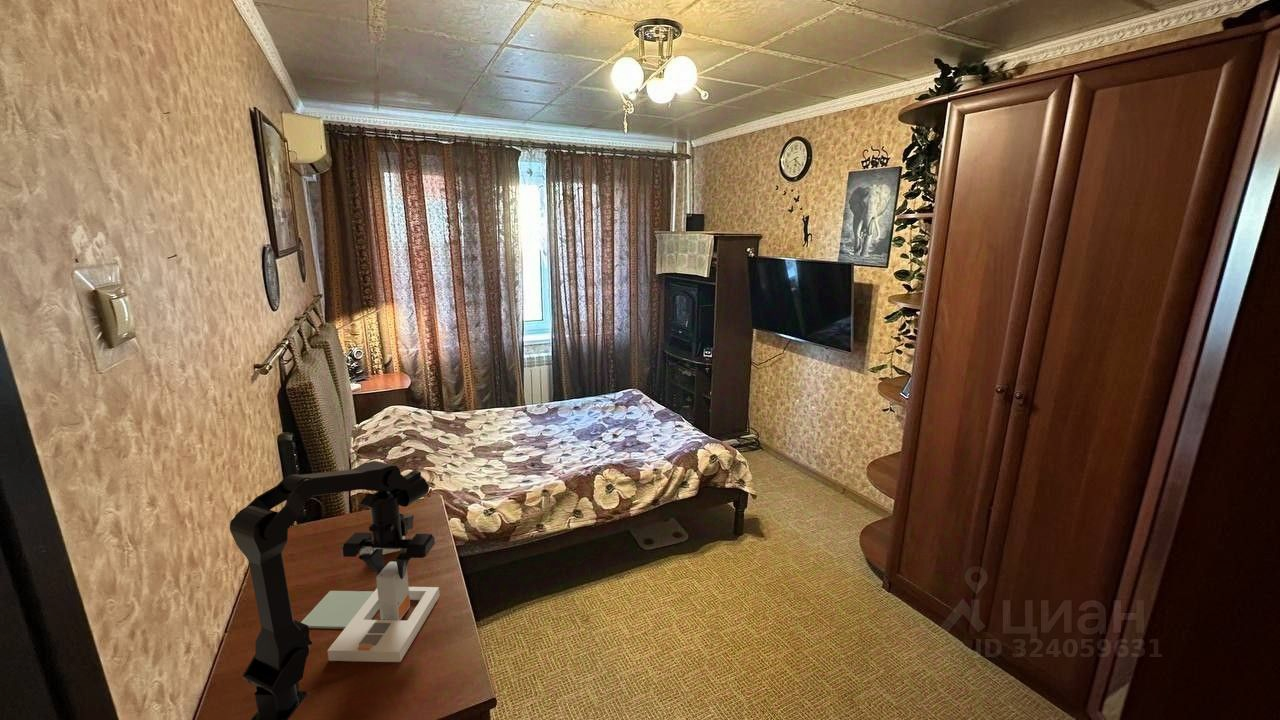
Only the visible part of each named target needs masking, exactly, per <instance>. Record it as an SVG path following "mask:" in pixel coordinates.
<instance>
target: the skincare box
mask: <svg viewBox="0 0 1280 720" xmlns="http://www.w3.org/2000/svg"><path fill="white" fill-rule="evenodd" d="M375 578H376V588H377V590H378V599H379V617H380V620H402V618H403V616H405V614H406V613H407V611H408V610H409V609H410V607H411V600H410V597H409V587H410V586H409V577H408V568H407V569H406V573H405V576H404V578H403V579H401V578H400V576H399V572H398V567H397V562H396V561H389V562H388V563H387V564H386V565H385V566H384V568H383V569H382V571H381V572H380V573H379V574H378V575H377V576H375Z"/></svg>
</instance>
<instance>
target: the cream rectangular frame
mask: <svg viewBox="0 0 1280 720" xmlns="http://www.w3.org/2000/svg"><path fill="white" fill-rule="evenodd" d="M439 596H440V587H439V586H438V587H437V586H409V597H410V601H411V600H413V601H418V604H416V606H415V608H414V609H413V611H412V613H411V614H410V615H409V617H408V619H407V620H404V619H403V620H402V619H401V620H381V619H373V618H374V617H375V615H376V614H377V612H378V611H380V609H379V599H378V590H377V587H376V588H375V590H374V592H373V593H372V595H371V596H370V597H369V599H368V600H367V601H366V602H365V604H364V605H363V606H362V607H361V609H360V610H359V611H358V612H357V614H356V615H355V616H354V617H353V619H352V620H351V621H350V623H349V624H348V625H347V626H346V628H345V629H342V631H341V633H340V634H339V635H338V636H337V638H336V639H335V640H334V641H333V643H332V644H331V645H330V646H329V648H328V649H327V658H328V661H330V662H372V663H373V662H376V663H378V662H379V663H381V662H382V663H401V662H402V660H403V658H404V657H405V655H406V654H407V652H408V650H409V648H410V647H411V645H412V643H413V642H414V641H415V639H416V637H417V635H418V633H419V632H420V631H421V629H422V627H423V625H424V623H425V622H426V620H427V618H428V616H429V615H430V614H431V611H432V610H433V608H434V606H435V605H436V603H437V602H438V601H439V598H440V597H439Z"/></svg>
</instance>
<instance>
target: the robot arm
mask: <svg viewBox="0 0 1280 720" xmlns="http://www.w3.org/2000/svg"><path fill="white" fill-rule="evenodd" d="M358 490H360V491H373V493H370V492H367V493H366V494H365V496H364V497H363V498H362V499H361V500H360V502H359V505H360V506H364V507H367V508H370V518H371V524H370V525H369V526H368V530H369V531H368V532H354V533H353V534H352V535H351V536H350V537H349V538H348V539H347V540H346V541H344V543H343V544H342V546H341V555H342V556H343V557H345V558H348V557H350V558H351V557H352V558H353V557H355V558H356V556H357V555H359V553H360V555H359V556H358V560H360V561H363V562H365V564H366V565H368V566H369V567H370V569H372V570H373V572H375V574H377V576H378V574H379V573H380V572H381V571H382V569H383V568H384V567H385V562H384V554H383V555H382V553H383V549H400V551H399V552H400V553H399V554H398V556H397V557H396V558H395V562H397V567H398V572H399V576H400V578H401V579H403V578H404V576H405V573H406V569H407V570H408V566H409V562H410V560H411V559H423V558H426V557H427V555H428V554H429V553H430V551H431V550H432V549H433V547H434V545H435V544H436V542H435V537H434V535H433V533H415V535H414V536H413V537H408V538H405V539H403V538H402V537H403V536H404V537H406V536H407V535H408V533H409V532H408V531H409V530H413V529H414V518H415V516H414V514H404V513H401V512H400V507H404V508H405V507H408V506H410V505H412V504H414V503H415V502H417V501H418V500H420V499H423V498H424V497H425V496H427V495H428V493H429V491H430V486H429V484H428V482H427V480H426V479H425V478H424V477H423V476H422V473H421V471H420V470H415V469H414V470H412V471H409V473H407V474H405V475H402V473H401V469H400V468H399V466H398V465H396V464H391V463H387V462H382V461H378V460H372V461H367V462H365V463H361V464H360V465H358V466H356V467H355V468H351V469H345V470H344V469H343V470H335V471H326V472H316V473H306V474H304V473H303V474H297V473H295V474H290V475H287V476H286V477H284V478H282V480H281V481H280V482H279V483H278V484H277V485H275V486H273V487H272V488H270V489H268V490H266V491H264V492H263V493H261V494H260V495H257V496H256V497H255V498H254V499H253V500H251V502H249V504H247V506H245V507H244V508H242V509H240V510H239V511H238V512H237V513H236V514H235V515H234V517H232V518H233V519H231V520H230V522H229V530H230V531H229V532H230V534H231V536H232V538H233V540H234V542H235V545H236V546H237V548H238V549H239V550H240V551H241V552H242V554H243V555H244V556H245V558H246V560H247V561H248V565H249V570H250V576H251V581H252V586H253V591H254V596H255V601H256V606H257V611H258V616H259V622H260V631H259V633H258V635H257V638H256V640H255V654H254V655H253V656H252V659H251V661H250V663H249V664H248V666H247V667H246V670H245V671H244V673H243V675H242V678H243V679H244V680H245V681H246V682H247V683H249V684H252V685H254V686H256V691H255V693H254V699H255V703H256V709H257V712H255V714H254V715H253V716H252V718H251V719H250V720H289V719H290V718H291V716H292V715H293V714H294V712H296V710H297V708H298V707H299V706H300V705H301V703H302V702H303V701H304V700H305V698H306V697H307V695H308V691H306V690H300V684H299V682H300V681H301V680H302V679H303V677H304V674H305V673H304V672H305V666H306V661H307V658H308V657H309V655H310V645H313V642H312V641H311V639H310V628H309V627H308V625H306V624H303V623H301V622H302V621H298V620H296V619H294V618H293V612H292V606H291V605H292V604H291V600H290V595H289V593H290V592H289V589H288V583H287V577H286V572H285V565H284V561H283V551H284V549H285V547H286V544H287V542H288V539H289V536H288V535H289V528H290V527H291V526H293V525H294V523H295V522H297V521H298V519H299V517H300V516H301V513H302V511H303V508H304V506H305V505H306V502H308V500H310V498H311V497H318V496H325V495H331V494H339V493H344V492H352V491H358ZM284 502H285V505H284V506H283V507H282V508H281V509H280V510H279V511H275V510H273V508H276V507H278V506H279V505H280V504H282V503H284ZM370 532H372V533H370Z"/></svg>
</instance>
